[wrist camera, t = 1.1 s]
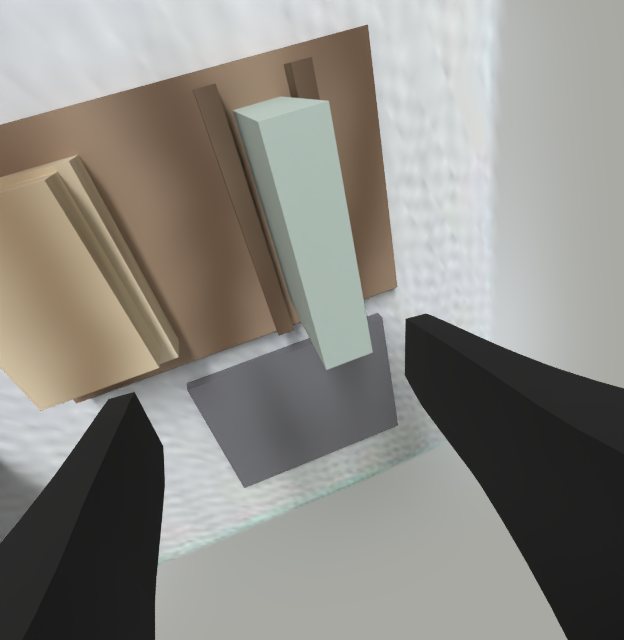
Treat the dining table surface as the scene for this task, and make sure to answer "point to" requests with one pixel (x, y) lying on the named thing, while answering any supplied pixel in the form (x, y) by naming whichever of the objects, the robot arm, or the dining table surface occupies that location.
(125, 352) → the upper pine offcut
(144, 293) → the lower pine offcut
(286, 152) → the sage panel
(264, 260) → the walnut rack
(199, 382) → the charcoal mat
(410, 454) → the dining table surface
